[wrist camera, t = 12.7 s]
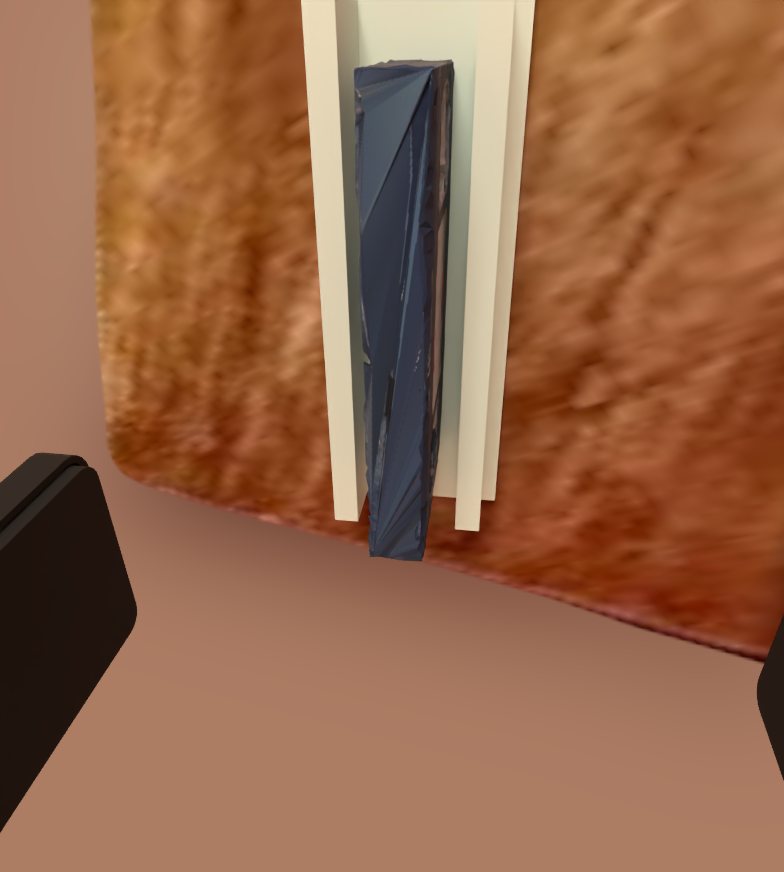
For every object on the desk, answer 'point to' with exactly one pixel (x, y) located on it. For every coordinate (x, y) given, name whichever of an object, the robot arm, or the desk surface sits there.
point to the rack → (468, 222)
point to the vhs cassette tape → (403, 288)
